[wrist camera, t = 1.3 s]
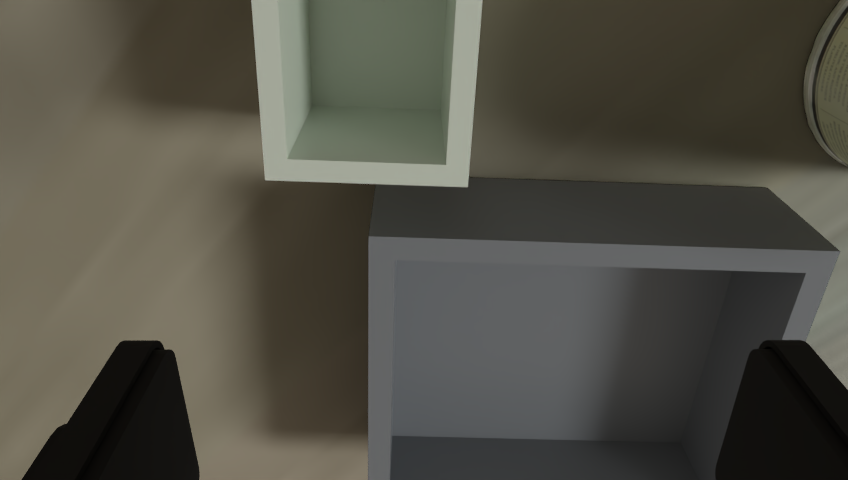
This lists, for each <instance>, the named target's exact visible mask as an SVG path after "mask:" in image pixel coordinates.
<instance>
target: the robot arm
mask: <svg viewBox="0 0 848 480" xmlns="http://www.w3.org/2000/svg"><path fill="white" fill-rule="evenodd" d="M715 478H716V480H848V390H847V389H846V388H845V386H844V385H843V384H842V383H841V382H840V381H839V379H838V378H837V377H836V376H835V375H834V374H833V372H832V371H831V370H830V369H829V368H828V366H827V365H826V364H825V363H824V362H823V361H822V359H821V358H820V357H819V356H818V355H817V354H816V352H815V351H814V350H813V349H812V348H811V346H810V345H809V344H807V343H806V342H805V341H802V340H766V341H763V342H762V343H761V344H760V346H759V349H753V350H752V351H751V352H750V354H749V356H748V359H747V362H746V366H745V369H744V372H743V376H742V379H741V383H740V386H739V389H738V393H737V396H736V400H735V403H734V406H733V410H732V413H731V416H730V420H729V423H728V427H727V430H726V433H725V437H724V440H723V444H722V447H721V450H720V454H719V457H718V460H717V464H716V468H715ZM22 480H199V466H198V461H197V456H196V452H195V447H194V442H193V437H192V433H191V428H190V423H189V419H188V414H187V409H186V404H185V400H184V395H183V390H182V386H181V381H180V376H179V371H178V367H177V362H176V357H175V354H174V352H173V351H172V350H164V347H163V345H162V343H161V342H160V341H122V342H120V343H119V344H118V346H117V347H116V348H115V350H114V352H113V353H112V355H111V356H110V358H109V359H108V361H107V362H106V364H105V366H104V367H103V369H102V370H101V372H100V373H99V375H98V376H97V378H96V379H95V381H94V383H93V384H92V386H91V387H90V389H89V390H88V392H87V393H86V395H85V397H84V398H83V400H82V401H81V403H80V404H79V406H78V407H77V409H76V410H75V412H74V414H73V415H72V417H71V418H70V420H69V421H68V423H67V424H64V425H62V426H60V427H58V428H57V429H56V430H55V431H54V433H53V434H52V435H51V436H50V438H49V439H48V441H47V442H46V444H45V445H44V447H43V448H42V450H41V451H40V453H39V454H38V456H37V457H36V459H35V460H34V462H33V463H32V465H31V466H30V468H29V469H28V471H27V472H26V474H25V475H24V477H23V478H22Z"/></svg>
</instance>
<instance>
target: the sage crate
mask: <svg viewBox="0 0 848 480" xmlns="http://www.w3.org/2000/svg"><path fill="white" fill-rule="evenodd" d="M482 1H483V0H251V4H252V17H253V30H254V43H255V56H256V69H257V82H258V95H259V108H260V121H261V134H262V147H263V160H264V173H265V180H272V181H301V182H329V183H358V184H387V185H416V186H445V187H468V179H469V166H470V154H471V141H472V128H473V116H474V103H475V90H476V78H477V65H478V52H479V40H480V27H481V14H482Z"/></svg>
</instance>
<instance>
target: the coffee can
mask: <svg viewBox="0 0 848 480" xmlns="http://www.w3.org/2000/svg"><path fill="white" fill-rule="evenodd" d="M803 96H804V107H805V112H806V116H807V121H808V125H809V127H810V129H811V131H812V132H813V134H814V136H815V138H816V140H817V142H818V143H819V144H820V145H821V147H822V148H823V149H824V150H825V151H826V152H827V153H828V154H829V155H830V156H831V157H833V158H834V159H835V160H836V161H838V162H840V163H841V164H843V165H845V166H847V167H848V0H840V1H839V3H838V4H837V5H836V7H835V8H834V9H833V11H832V12H831V13H830V15H829V17H828V18H827V20H826V21H825V23H824V25H823V26H822V28H821V29H820V31H819V33H818V35H817V37H816V40H815V42H814V45H813V49H812V52H811V54H810V56H809V59H808V62H807V66H806V71H805V78H804V89H803Z"/></svg>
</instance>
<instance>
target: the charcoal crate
mask: <svg viewBox="0 0 848 480" xmlns="http://www.w3.org/2000/svg"><path fill="white" fill-rule="evenodd" d="M839 253H840V251H839V250H838V249H837V248H836V247H834V246H833V245H832V244H831V243H830V242H829V241H828V240H827V239H825V238H824V237H823V236H822V235H821V234H820V233H819V232H817V231H816V230H815V229H814V228H813V227H812V226H811V225H809V224H808V223H807V222H806V221H805V220H804V219H803V218H801V217H800V216H799V215H798V214H797V213H796V212H795V211H793V210H792V209H791V208H790V207H789V206H788V205H787V204H785V203H784V202H783V201H782V200H781V199H780V198H779V197H777V196H776V195H775V194H774V193H773V192H772V191H771V190H769V189H768V188H759V187H730V186H701V185H672V184H643V183H614V182H585V181H556V180H527V179H498V178H469V179H468V187H445V186H416V185H387V184H376V185H375V192H374V200H373V207H372V214H371V222H370V229H369V241H368V480H716V478H715V468H716V464H717V460H718V457H719V454H720V450H721V447H722V444H723V440H724V437H725V433H726V430H727V427H728V423H729V420H730V416H731V413H732V410H733V406H734V403H735V400H736V396H737V393H738V389H739V386H740V383H741V379H742V376H743V372H744V369H745V366H746V362H747V359H748V356H749V354H750V352H751V351H752V350H753V349H759V346H760V344H761V343H762V342H763V341H766V340H802V341H806V339H807V336H808V333H809V331H810V328H811V326H812V323H813V320H814V318H815V315H816V313H817V310H818V307H819V305H820V302H821V300H822V297H823V295H824V292H825V289H826V287H827V284H828V282H829V279H830V276H831V274H832V271H833V269H834V266H835V263H836V261H837V258H838V256H839Z"/></svg>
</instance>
